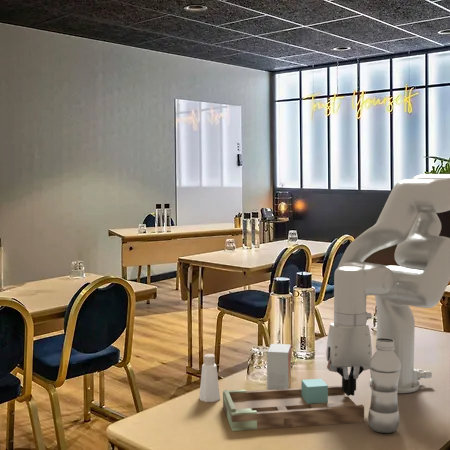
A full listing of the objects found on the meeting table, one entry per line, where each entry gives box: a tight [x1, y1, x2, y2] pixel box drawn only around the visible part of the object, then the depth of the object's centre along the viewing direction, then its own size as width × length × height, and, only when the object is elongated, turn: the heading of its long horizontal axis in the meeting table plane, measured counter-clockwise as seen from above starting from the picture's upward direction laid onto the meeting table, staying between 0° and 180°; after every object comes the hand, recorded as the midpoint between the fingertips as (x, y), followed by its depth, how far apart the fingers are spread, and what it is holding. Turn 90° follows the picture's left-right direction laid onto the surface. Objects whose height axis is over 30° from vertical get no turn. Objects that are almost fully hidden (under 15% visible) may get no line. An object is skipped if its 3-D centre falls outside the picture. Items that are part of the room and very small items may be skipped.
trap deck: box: [222, 384, 365, 432], centre depth 141 cm, size 30×14×4 cm, turn 98°
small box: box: [266, 343, 292, 390], centre depth 158 cm, size 8×6×10 cm
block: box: [300, 378, 329, 404], centre depth 145 cm, size 5×5×4 cm
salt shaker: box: [198, 353, 221, 403], centre depth 151 cm, size 5×5×11 cm
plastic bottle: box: [367, 338, 401, 434], centre depth 131 cm, size 6×7×20 cm
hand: (348, 393), depth 146 cm, fingers closed
